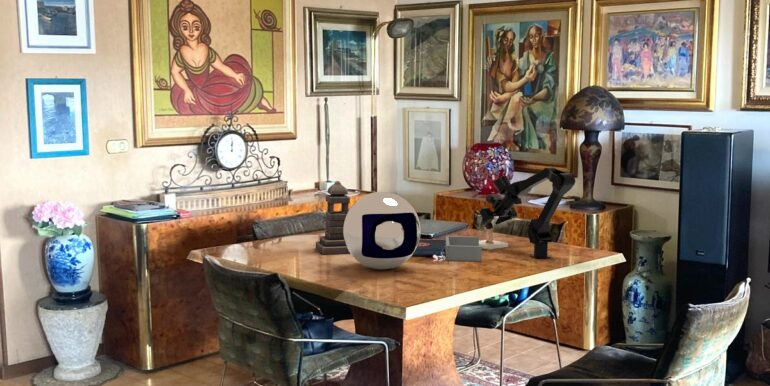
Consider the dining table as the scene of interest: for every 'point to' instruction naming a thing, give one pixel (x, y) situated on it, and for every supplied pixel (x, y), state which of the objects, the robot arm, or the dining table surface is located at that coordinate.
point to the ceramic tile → (492, 246)
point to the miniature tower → (335, 222)
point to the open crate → (463, 248)
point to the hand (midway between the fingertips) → (488, 224)
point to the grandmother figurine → (489, 233)
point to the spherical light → (381, 230)
